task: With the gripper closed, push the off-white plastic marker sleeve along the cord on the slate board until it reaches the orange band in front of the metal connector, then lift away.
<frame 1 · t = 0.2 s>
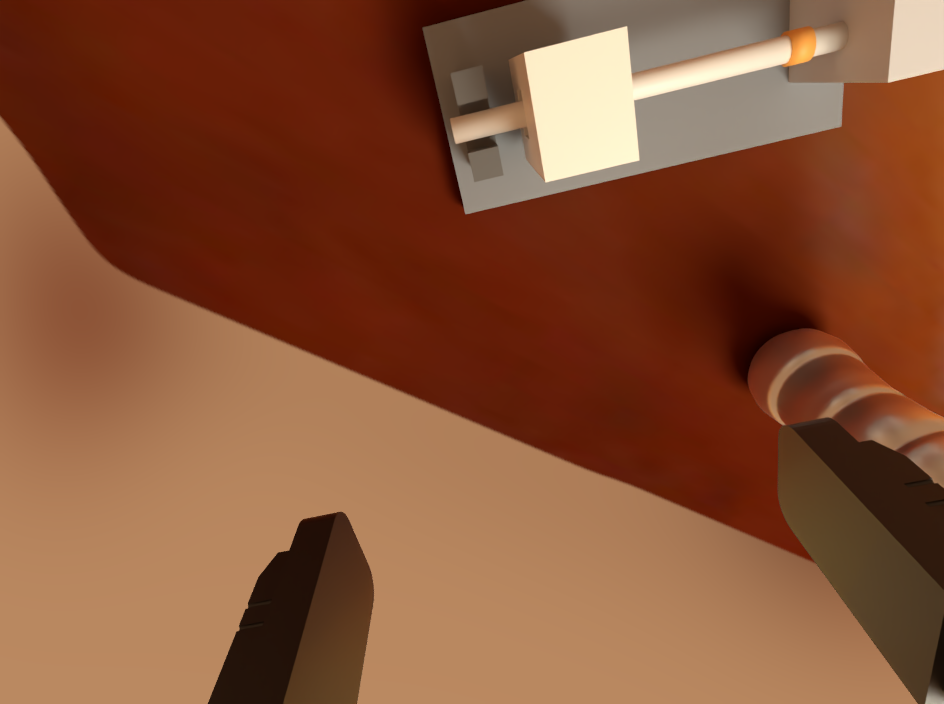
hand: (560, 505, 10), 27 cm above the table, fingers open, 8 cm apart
sleeve: (567, 104, 26), point 7 cm above the table, slide at 0.0 cm
plastic bottle: (781, 359, 40), on the table
cord board: (632, 79, 32), on the table
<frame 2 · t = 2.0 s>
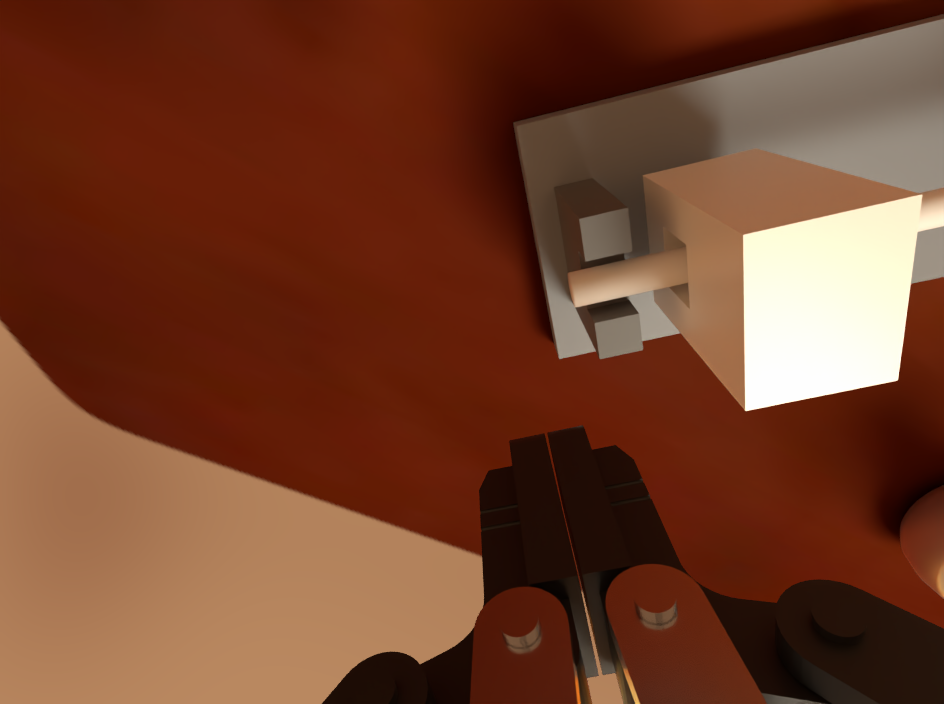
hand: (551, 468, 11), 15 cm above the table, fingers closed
sleeve: (751, 262, 18), point 7 cm above the table, slide at 0.0 cm
plastic bottle: (939, 506, 32), on the table
cord board: (795, 183, 23), on the table
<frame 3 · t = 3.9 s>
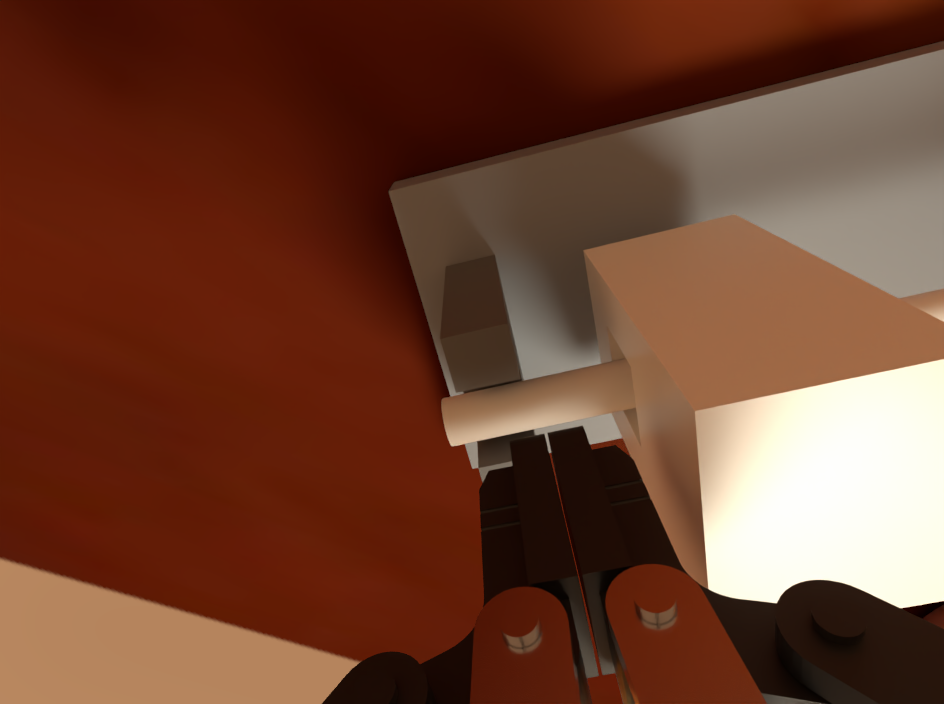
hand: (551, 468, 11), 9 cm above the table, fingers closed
sleeve: (725, 387, 12), point 7 cm above the table, slide at 0.9 cm, touching gripper
cord board: (763, 252, 18), on the table
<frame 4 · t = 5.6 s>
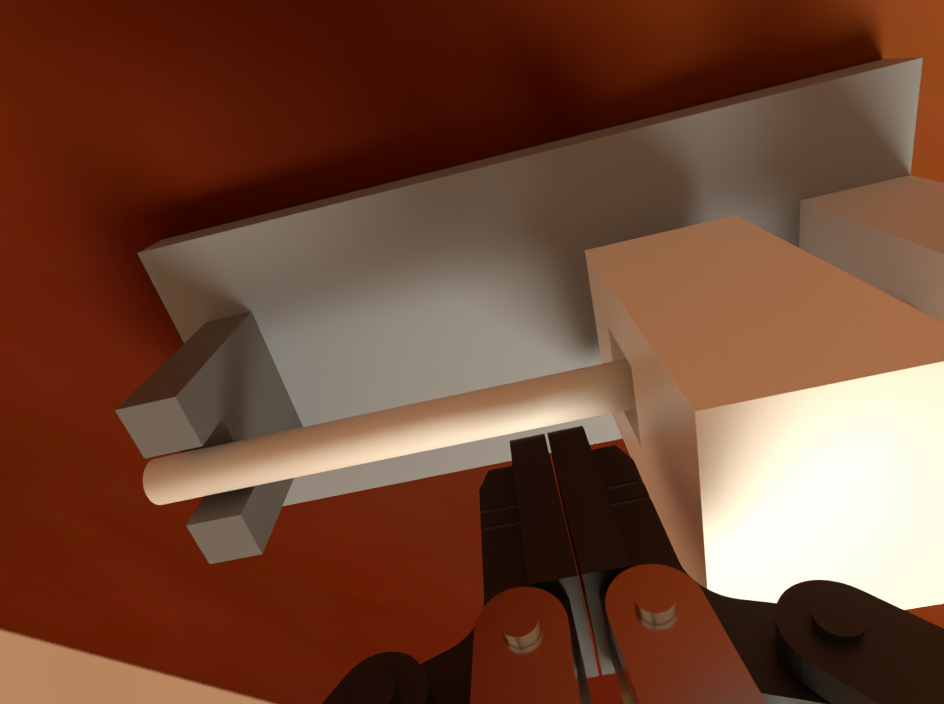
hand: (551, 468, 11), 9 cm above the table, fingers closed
sleeve: (726, 388, 12), point 7 cm above the table, slide at 8.6 cm, touching gripper
cord board: (532, 306, 19), on the table
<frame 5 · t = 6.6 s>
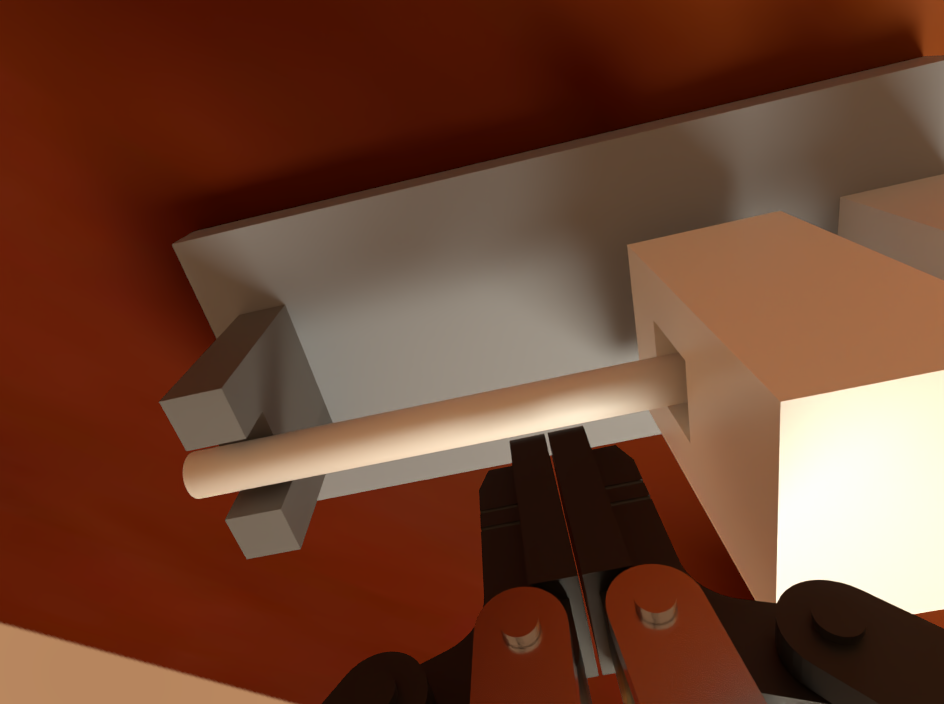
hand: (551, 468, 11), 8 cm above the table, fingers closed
sleeve: (778, 383, 12), point 7 cm above the table, slide at 8.6 cm
cord board: (564, 301, 19), on the table
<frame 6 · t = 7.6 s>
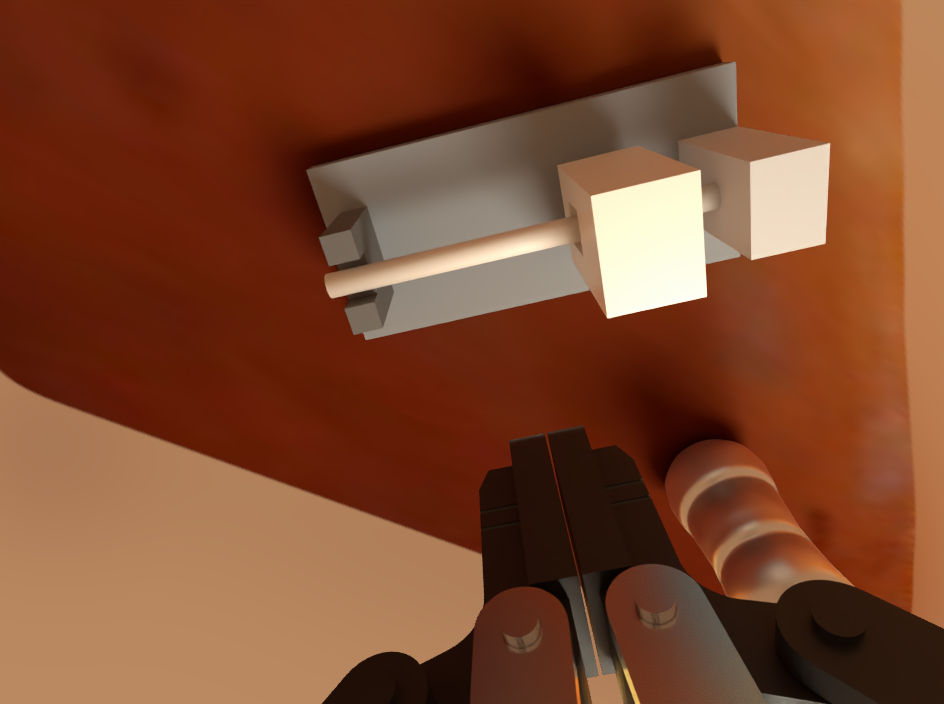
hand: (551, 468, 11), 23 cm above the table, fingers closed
sleeve: (624, 223, 25), point 7 cm above the table, slide at 8.6 cm
plastic bottle: (701, 463, 40), on the table
cord board: (528, 209, 32), on the table
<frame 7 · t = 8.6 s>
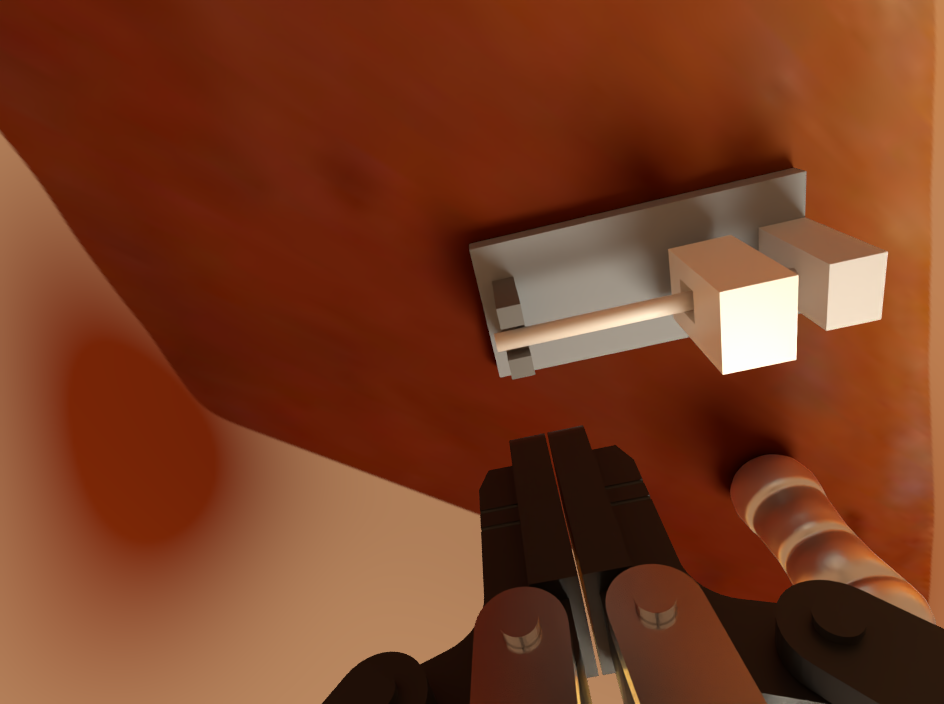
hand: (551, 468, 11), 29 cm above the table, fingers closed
sleeve: (727, 299, 34), point 7 cm above the table, slide at 8.6 cm
plastic bottle: (759, 473, 49), on the table
cord board: (634, 275, 40), on the table
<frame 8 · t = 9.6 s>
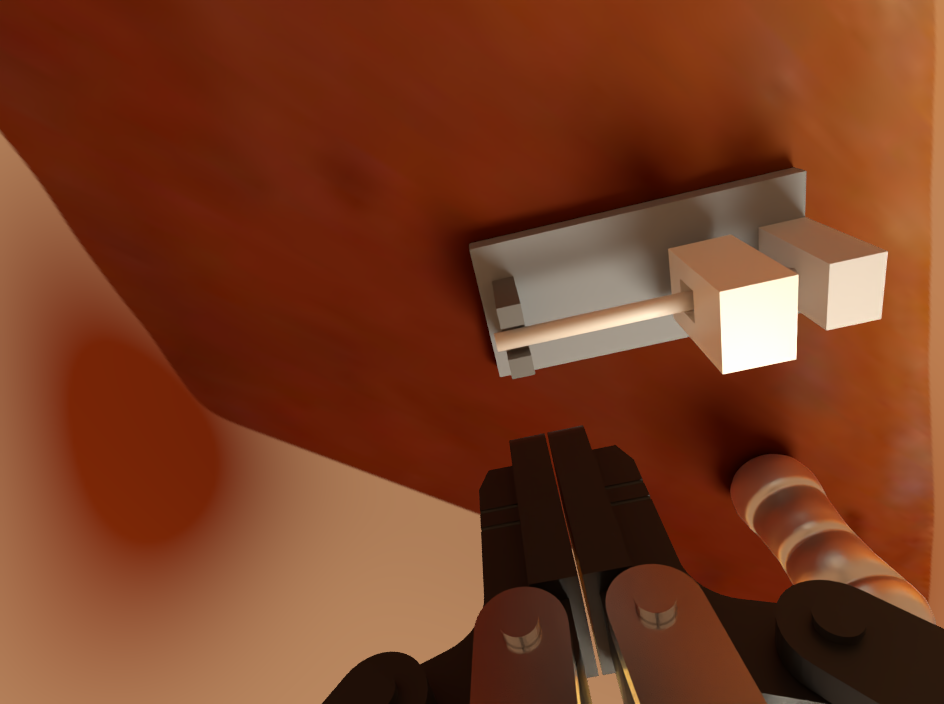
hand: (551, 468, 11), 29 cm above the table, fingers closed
sleeve: (727, 299, 34), point 7 cm above the table, slide at 8.6 cm
plastic bottle: (759, 472, 49), on the table
cord board: (634, 275, 40), on the table
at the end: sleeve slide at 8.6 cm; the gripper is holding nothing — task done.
